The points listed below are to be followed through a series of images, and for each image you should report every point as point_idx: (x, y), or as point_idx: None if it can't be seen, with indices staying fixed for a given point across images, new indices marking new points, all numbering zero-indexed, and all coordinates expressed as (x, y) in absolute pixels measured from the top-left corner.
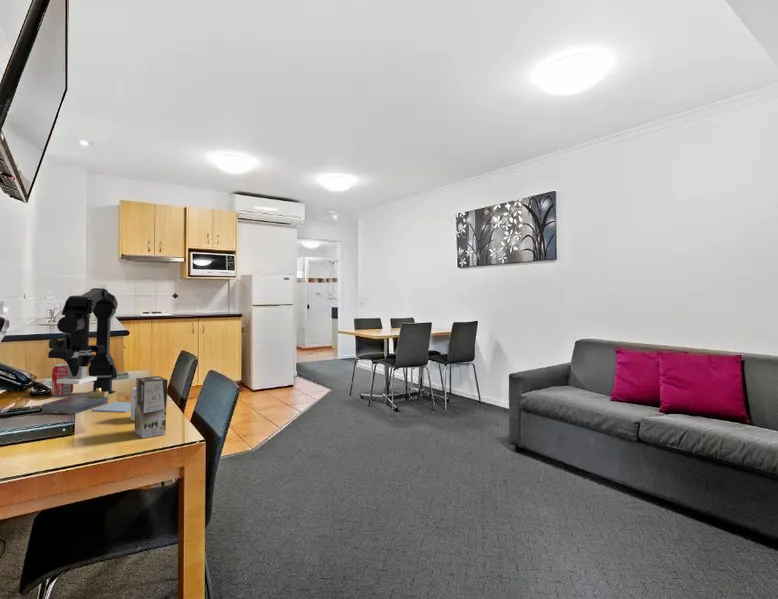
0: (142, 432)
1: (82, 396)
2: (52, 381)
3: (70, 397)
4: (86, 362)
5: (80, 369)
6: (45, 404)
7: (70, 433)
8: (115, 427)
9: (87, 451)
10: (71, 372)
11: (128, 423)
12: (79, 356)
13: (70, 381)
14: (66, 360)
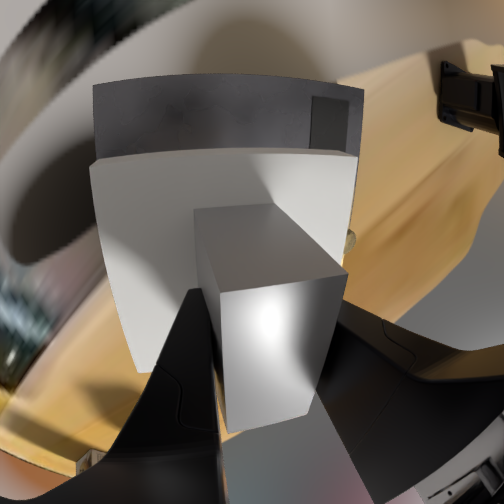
0: (76, 470)
1: (314, 142)
2: None
3: (286, 92)
4: (343, 436)
5: (221, 406)
6: (93, 103)
7: (10, 384)
8: (86, 423)
9: (5, 437)
10: (178, 319)
11: (120, 426)
12: (448, 436)
13: (119, 309)
14: (110, 486)
